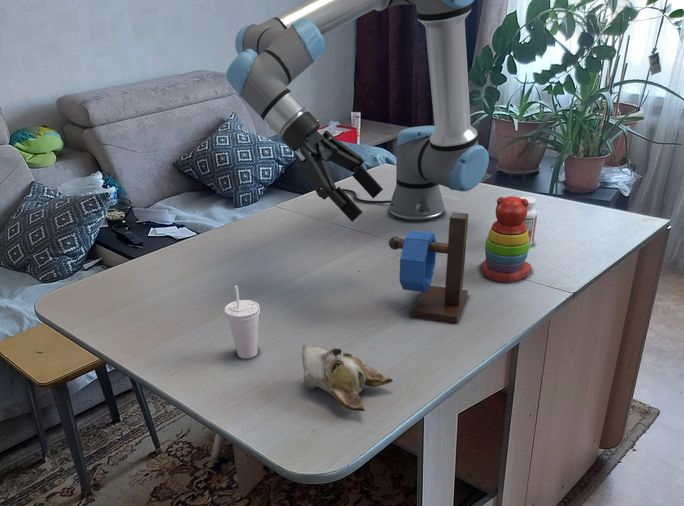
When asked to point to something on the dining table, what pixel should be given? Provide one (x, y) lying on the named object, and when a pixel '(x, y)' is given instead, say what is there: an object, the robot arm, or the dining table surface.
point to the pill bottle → (530, 218)
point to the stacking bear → (508, 242)
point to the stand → (451, 297)
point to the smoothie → (243, 325)
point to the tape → (417, 261)
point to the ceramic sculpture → (339, 375)
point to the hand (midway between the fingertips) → (368, 205)
